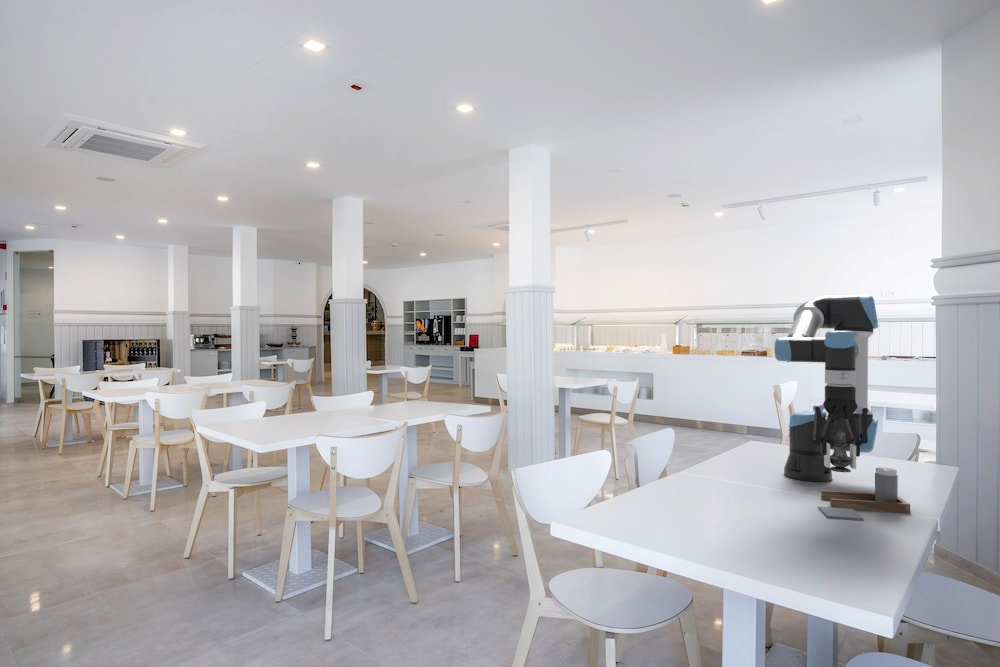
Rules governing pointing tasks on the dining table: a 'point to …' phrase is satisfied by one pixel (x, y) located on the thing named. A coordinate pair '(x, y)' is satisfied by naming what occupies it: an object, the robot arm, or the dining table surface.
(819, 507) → the coaster
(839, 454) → the grey chess piece
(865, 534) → the dining table surface
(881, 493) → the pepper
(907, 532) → the dining table surface
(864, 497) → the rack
